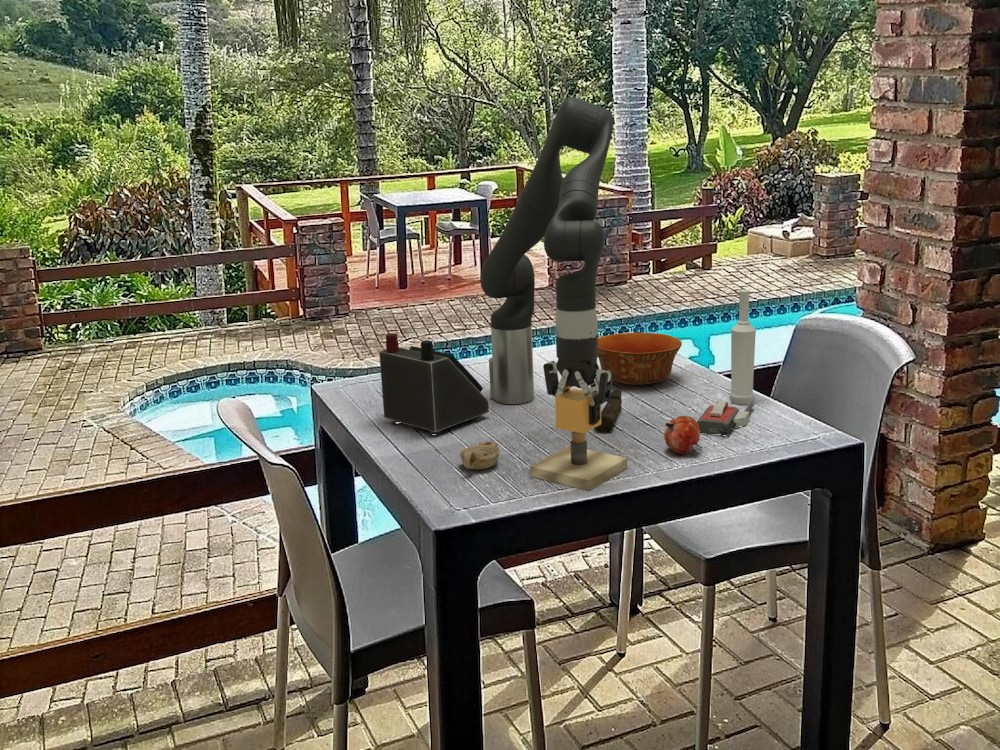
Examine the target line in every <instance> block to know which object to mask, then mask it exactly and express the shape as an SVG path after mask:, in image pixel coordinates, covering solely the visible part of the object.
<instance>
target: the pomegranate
mask: <svg viewBox="0 0 1000 750" xmlns="http://www.w3.org/2000/svg"><path fill="white" fill-rule="evenodd" d="M664 427H666V428H665V430H664V433H663V438H664V442H665V445H666V446H667V447H668V448H669V449H671V450H672V451H673V452H674V453H676V454H679V455H688V454H690V453H691V452H692V451H693V446H697V447H698V448H700V449H701V448H702V449H703V447H702V446H701V445H699V444H698V443H699V442H700V436H701V434H700V429H699V425H698V423H697V421H696V419H695V418H693V417H692V416H690V415H679V416H677V417H676V418H673V419H671V420H670V421H669V423H668V422H666V423H665V425H664Z"/></svg>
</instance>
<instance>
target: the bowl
mask: <svg viewBox="0 0 1000 750" xmlns="http://www.w3.org/2000/svg"><path fill="white" fill-rule="evenodd" d="M682 344H683V342H682V340H681V339H680V338H677V337H675V336H672V335H669V334H665V333H658V332H657V333H655V332H623V333H615V334H607V335H604V336H603V335H602V336H600V337H599V336H598V357H597V359H598V361H599V364H600V369H602V370H605V371H608V370H612V371H613V380H612V382H613V381H614V382H617V383H620V384H624V385H629V386H630V385H631V386H632V385H633V386H634V385H635V386H640V385H641V386H643V385H651V384H656V383H659V382H663V381H665V380H666V379H667V378H669V377H670V375H671V372H672V368H673V365H674V360H675V359H676V356H677V354H678V352H679V351H680V349H681V347H682Z"/></svg>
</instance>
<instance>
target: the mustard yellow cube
mask: <svg viewBox="0 0 1000 750" xmlns="http://www.w3.org/2000/svg"><path fill="white" fill-rule="evenodd" d="M554 400H555V401H554V402H555V403H554V404H555V405H554V406H555V407H554V408H555V428H556V429H560V430H564V431H568V432H572V431H573V432H578V433H583V434H584V433H585V434H586V433H588V432H590V431H591V430H593V429H594V428H595V427H597V426H599V425H601V412H602V404H600V421H598V423H597V424H595V425H590V424H589V406H590V404H589V402H588V399H587V397H586V395H584V394H583V392H582V389H580V388H571V389H570V391H569V392H565V393H564V394H560V395H558V396H556V397H555V396H554Z"/></svg>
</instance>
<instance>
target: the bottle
mask: <svg viewBox="0 0 1000 750" xmlns="http://www.w3.org/2000/svg"><path fill="white" fill-rule="evenodd" d="M738 293H739V295H738V296H739V298H738V299H739V306H738V307H739V309H738V310H739V311H738V321H737V323H736V324H735V325H734V326H733V327H731V330H730V334H731V335H730V337H731V338H730V342H731V343H730V348H731V350H730V351H731V352H730V353H731V354H730V358H731V359H730V360H731V361H730V362H731V363H730V367H731V370H730V373H731V374H730V376H731V377H730V378H731V379H730V382H731V383H730V385H731V387H730V388H731V389H730V393H729V400H730V402H731V404H733V403H734V404H733V405H737V404H748V405H749V403H753V402H754V400H755V399H754V398H755V397H754V396H755V394H754V373H755V371H754V370H755V351H756V350H755V349H756V334H757V333H756V331H757V329H756V328H755V327H754V326H753V325H752V324H751V321H749V313H750V312H749V310H750V304H749V303H750V290H749V289H740V290H739V292H738Z"/></svg>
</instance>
